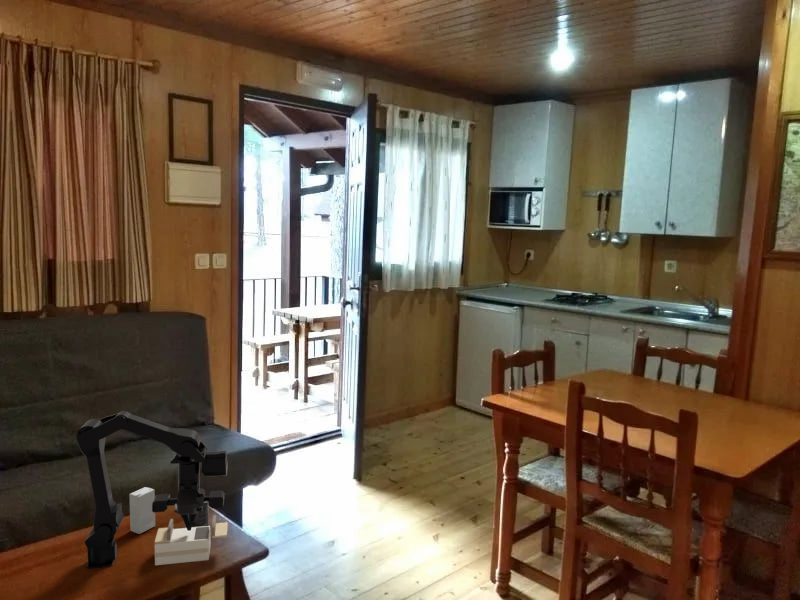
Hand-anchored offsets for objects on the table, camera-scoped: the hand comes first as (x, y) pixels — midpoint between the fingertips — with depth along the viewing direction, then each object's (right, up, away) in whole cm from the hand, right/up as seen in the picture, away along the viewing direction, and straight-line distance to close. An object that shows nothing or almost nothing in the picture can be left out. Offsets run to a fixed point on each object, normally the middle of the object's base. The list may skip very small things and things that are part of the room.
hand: (189, 529), depth 173 cm
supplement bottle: (-3, -6, +16) cm, 17 cm away
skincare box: (-19, -5, +15) cm, 25 cm away
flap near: (-6, -1, -1) cm, 7 cm away
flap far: (+8, -1, +2) cm, 8 cm away
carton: (-2, -7, 0) cm, 7 cm away
